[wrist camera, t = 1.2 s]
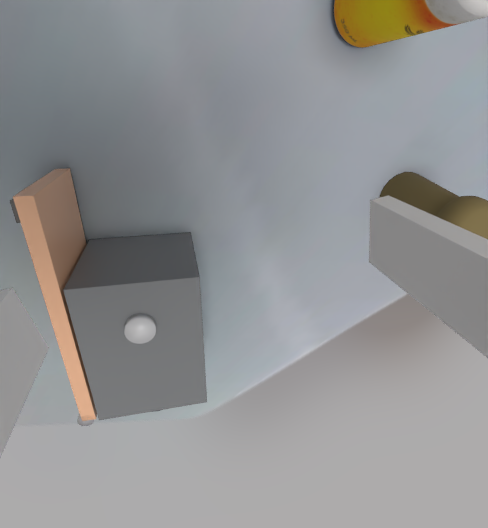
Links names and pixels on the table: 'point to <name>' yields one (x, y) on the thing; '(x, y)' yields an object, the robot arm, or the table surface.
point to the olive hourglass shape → (440, 202)
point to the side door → (57, 266)
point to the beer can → (401, 18)
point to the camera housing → (139, 323)
